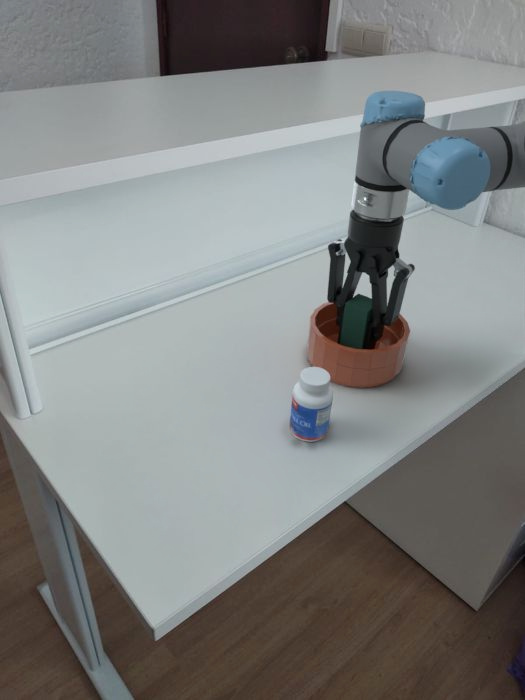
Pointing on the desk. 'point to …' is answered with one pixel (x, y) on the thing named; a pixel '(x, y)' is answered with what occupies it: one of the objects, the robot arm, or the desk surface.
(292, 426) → the pill bottle
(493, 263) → the desk surface
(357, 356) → the bowl
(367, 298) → the green block
